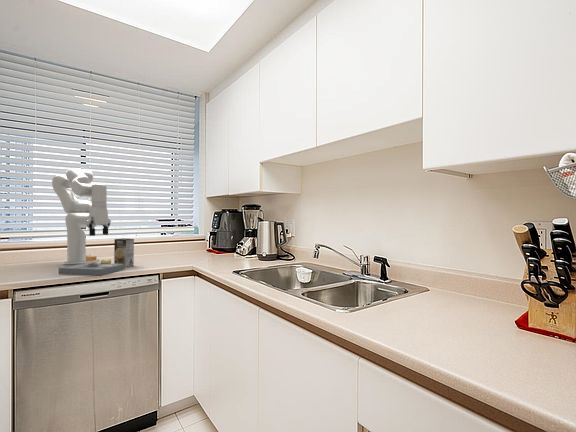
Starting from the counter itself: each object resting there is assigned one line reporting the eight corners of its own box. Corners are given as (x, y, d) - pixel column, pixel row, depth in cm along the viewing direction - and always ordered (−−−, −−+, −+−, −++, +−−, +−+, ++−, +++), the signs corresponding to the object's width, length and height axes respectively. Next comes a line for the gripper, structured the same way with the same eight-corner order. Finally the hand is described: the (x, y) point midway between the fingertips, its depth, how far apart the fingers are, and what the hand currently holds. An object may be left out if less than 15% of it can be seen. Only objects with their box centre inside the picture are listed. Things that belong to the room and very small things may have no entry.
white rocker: (91, 263, 167) (91, 260, 167) (99, 261, 166) (99, 259, 166) (85, 264, 163) (85, 261, 163) (93, 262, 162) (93, 260, 162)
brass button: (105, 262, 166) (105, 259, 166) (113, 262, 165) (113, 259, 165) (98, 264, 161) (98, 260, 161) (106, 264, 160) (106, 260, 160)
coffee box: (113, 266, 182) (113, 238, 182) (122, 264, 188) (122, 238, 188) (125, 267, 179) (125, 239, 179) (134, 265, 185) (134, 238, 185)
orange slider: (90, 262, 174) (90, 256, 174) (96, 262, 174) (96, 256, 174) (85, 263, 171) (85, 256, 171) (92, 263, 171) (92, 256, 171)
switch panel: (86, 268, 175) (86, 261, 175) (125, 269, 171) (125, 262, 171) (58, 273, 157) (58, 266, 157) (100, 275, 154) (100, 268, 154)
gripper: (104, 206, 188) (104, 234, 188) (80, 204, 171) (80, 235, 171) (115, 205, 186) (115, 234, 186) (92, 204, 169) (92, 236, 169)
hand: (99, 235), depth 178 cm, fingers open, 9 cm apart
